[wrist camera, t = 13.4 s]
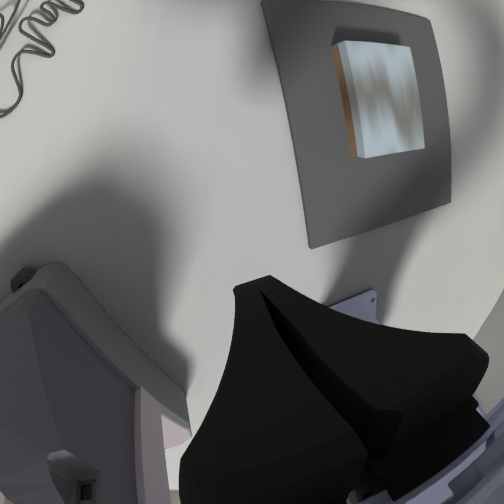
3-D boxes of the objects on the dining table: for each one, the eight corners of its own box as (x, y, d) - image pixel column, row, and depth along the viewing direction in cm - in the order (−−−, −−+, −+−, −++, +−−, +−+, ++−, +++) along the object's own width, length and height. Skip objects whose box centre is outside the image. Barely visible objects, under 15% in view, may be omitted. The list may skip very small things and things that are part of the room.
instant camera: (55, 440, 24) (48, 539, 11) (-57, 315, 15) (-119, 420, 1) (202, 411, 26) (235, 543, 13) (89, 232, 17) (-14, 429, 4)
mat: (447, 201, 24) (450, 202, 23) (308, 247, 21) (311, 249, 21) (426, 20, 16) (429, 20, 15) (260, 2, 13) (262, -1, 13)
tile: (424, 148, 18) (365, 158, 17) (409, 145, 20) (350, 155, 19) (409, 47, 15) (344, 40, 14) (394, 50, 16) (330, 46, 15)
